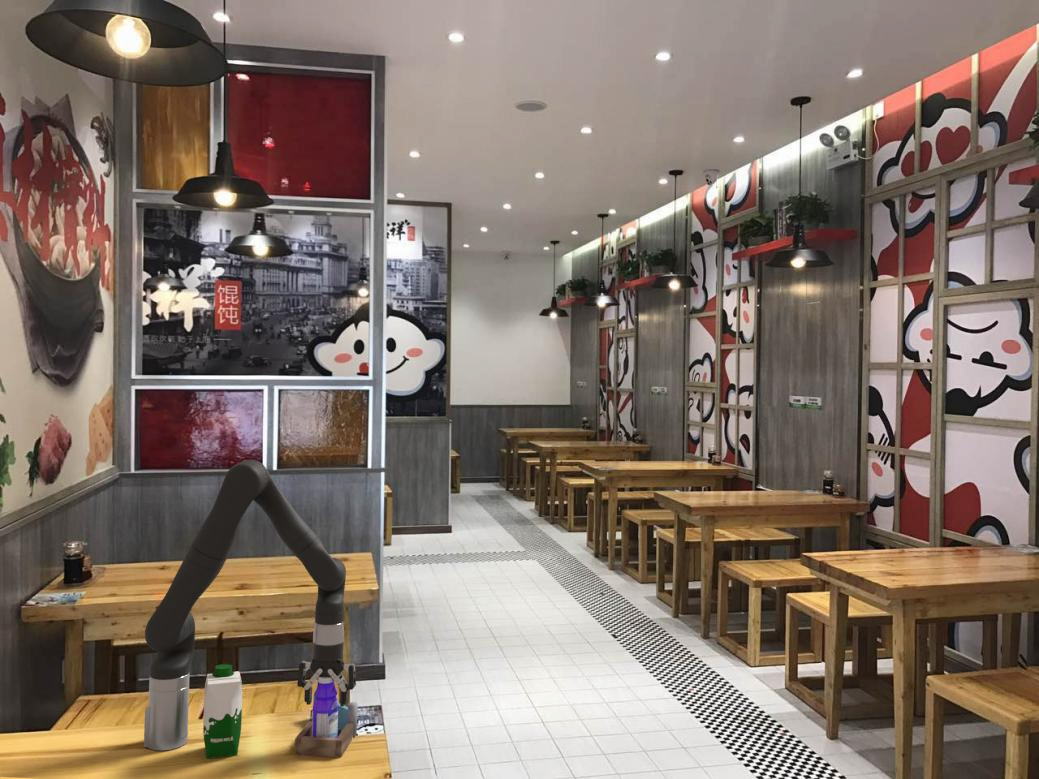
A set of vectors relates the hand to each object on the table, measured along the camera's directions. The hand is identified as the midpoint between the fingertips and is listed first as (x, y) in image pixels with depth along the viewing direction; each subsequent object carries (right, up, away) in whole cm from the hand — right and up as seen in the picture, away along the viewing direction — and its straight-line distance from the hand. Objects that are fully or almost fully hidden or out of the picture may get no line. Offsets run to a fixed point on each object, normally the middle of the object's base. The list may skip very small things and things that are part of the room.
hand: (325, 704), depth 205 cm
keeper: (-1, -10, +11) cm, 15 cm away
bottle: (0, -10, 0) cm, 10 cm away
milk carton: (-24, -10, -5) cm, 27 cm away
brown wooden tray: (0, -10, 0) cm, 10 cm away
